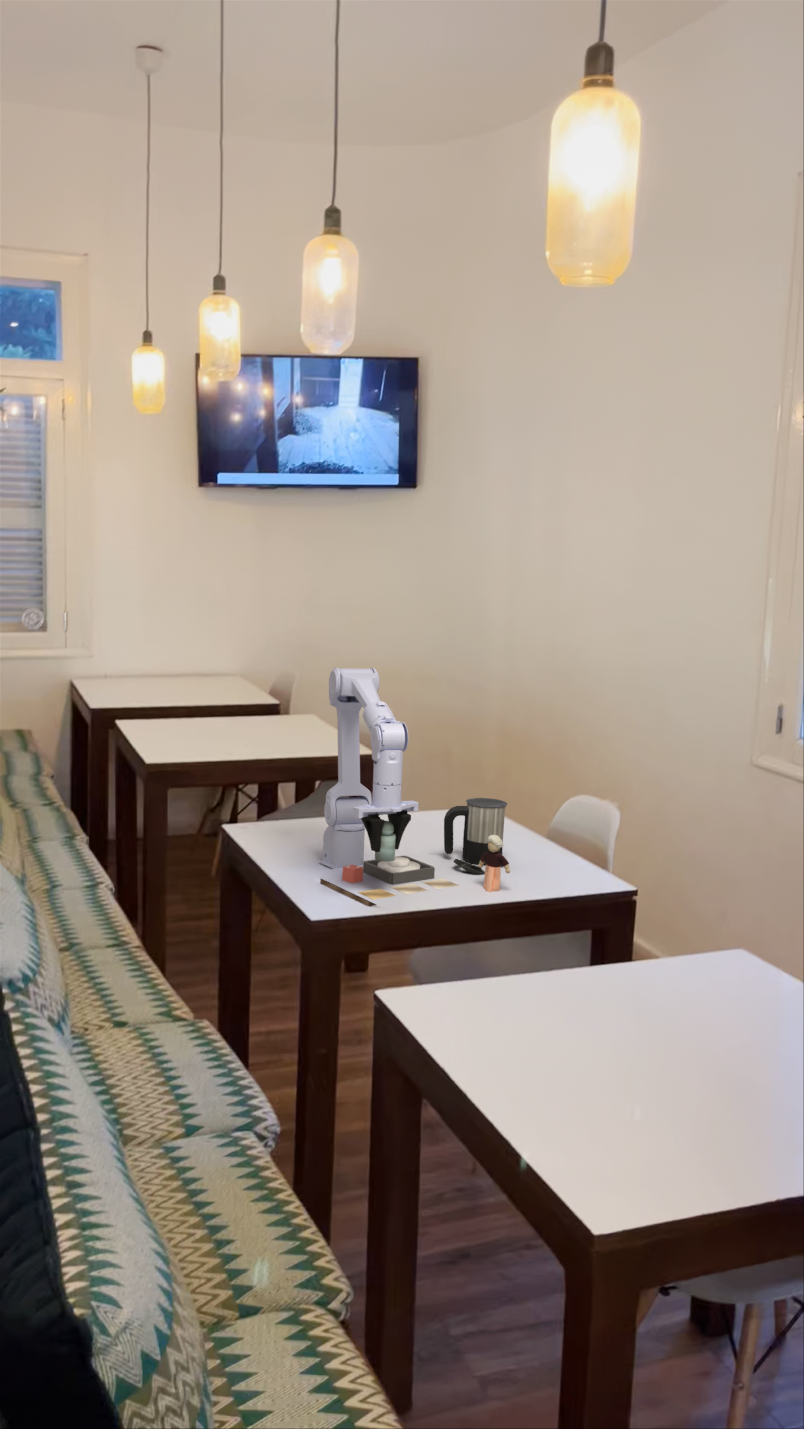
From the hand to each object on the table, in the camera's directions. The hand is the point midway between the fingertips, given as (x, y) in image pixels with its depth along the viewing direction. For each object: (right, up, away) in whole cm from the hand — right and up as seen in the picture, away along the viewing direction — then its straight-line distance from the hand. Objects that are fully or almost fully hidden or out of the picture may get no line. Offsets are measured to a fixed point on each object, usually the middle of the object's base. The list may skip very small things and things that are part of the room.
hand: (384, 849), depth 238 cm
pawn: (0, -2, 0) cm, 2 cm away
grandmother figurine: (+22, -10, +7) cm, 25 cm away
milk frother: (+20, -8, +26) cm, 34 cm away
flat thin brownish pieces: (+1, -9, +10) cm, 13 cm away
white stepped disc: (+3, -7, +15) cm, 16 cm away
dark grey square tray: (+3, -8, +15) cm, 17 cm away
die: (-7, -9, +10) cm, 15 cm away
